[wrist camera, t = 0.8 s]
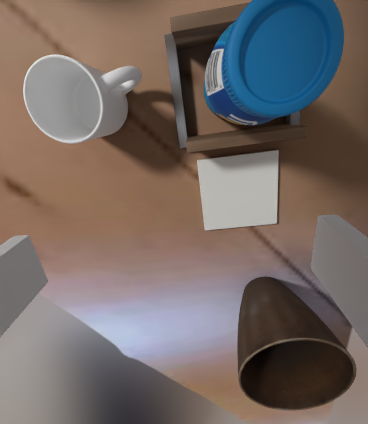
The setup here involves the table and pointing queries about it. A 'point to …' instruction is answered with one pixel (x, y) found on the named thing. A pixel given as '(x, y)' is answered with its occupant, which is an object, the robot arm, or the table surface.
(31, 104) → the mug
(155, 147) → the table surface
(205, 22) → the rack
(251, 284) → the plant pot
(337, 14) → the beverage bottle
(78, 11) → the table surface
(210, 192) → the coaster
